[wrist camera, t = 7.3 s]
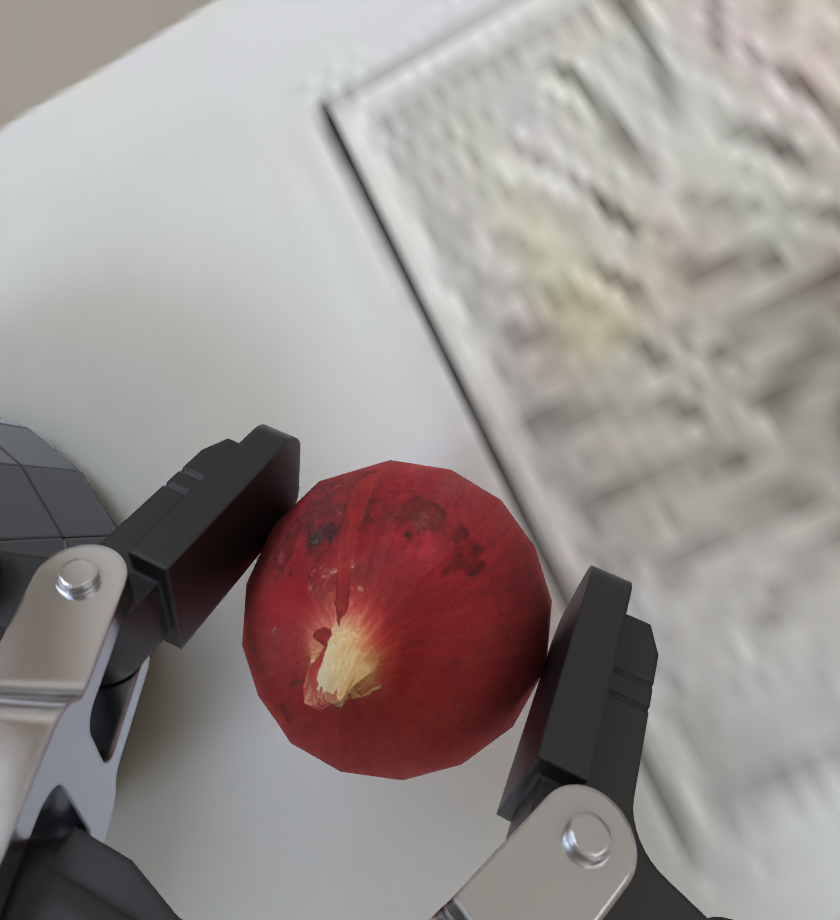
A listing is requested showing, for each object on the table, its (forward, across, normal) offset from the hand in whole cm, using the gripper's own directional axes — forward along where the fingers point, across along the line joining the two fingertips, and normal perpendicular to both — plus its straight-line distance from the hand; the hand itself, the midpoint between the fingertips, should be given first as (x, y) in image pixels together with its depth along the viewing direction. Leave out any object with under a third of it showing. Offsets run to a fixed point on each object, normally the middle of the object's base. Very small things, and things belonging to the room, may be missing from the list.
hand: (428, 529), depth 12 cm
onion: (+2, 0, +4) cm, 5 cm away
